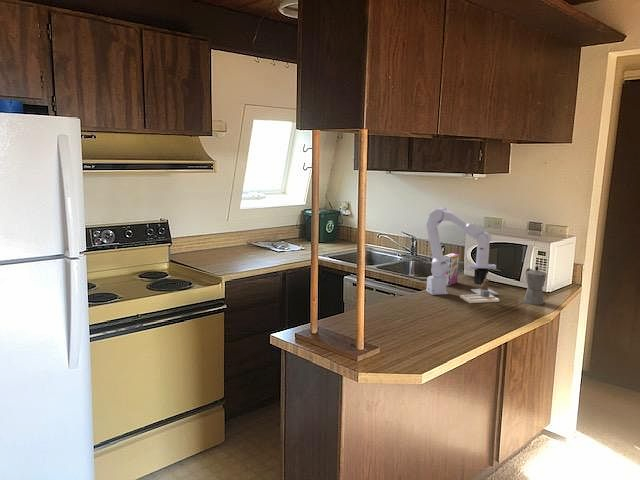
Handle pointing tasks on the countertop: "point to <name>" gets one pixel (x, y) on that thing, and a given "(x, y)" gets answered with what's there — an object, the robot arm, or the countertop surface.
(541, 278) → the coffeepot
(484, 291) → the switch tab
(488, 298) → the switch panel
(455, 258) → the candy bar box
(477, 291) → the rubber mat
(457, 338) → the countertop surface
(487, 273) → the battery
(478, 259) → the robot arm
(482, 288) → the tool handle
